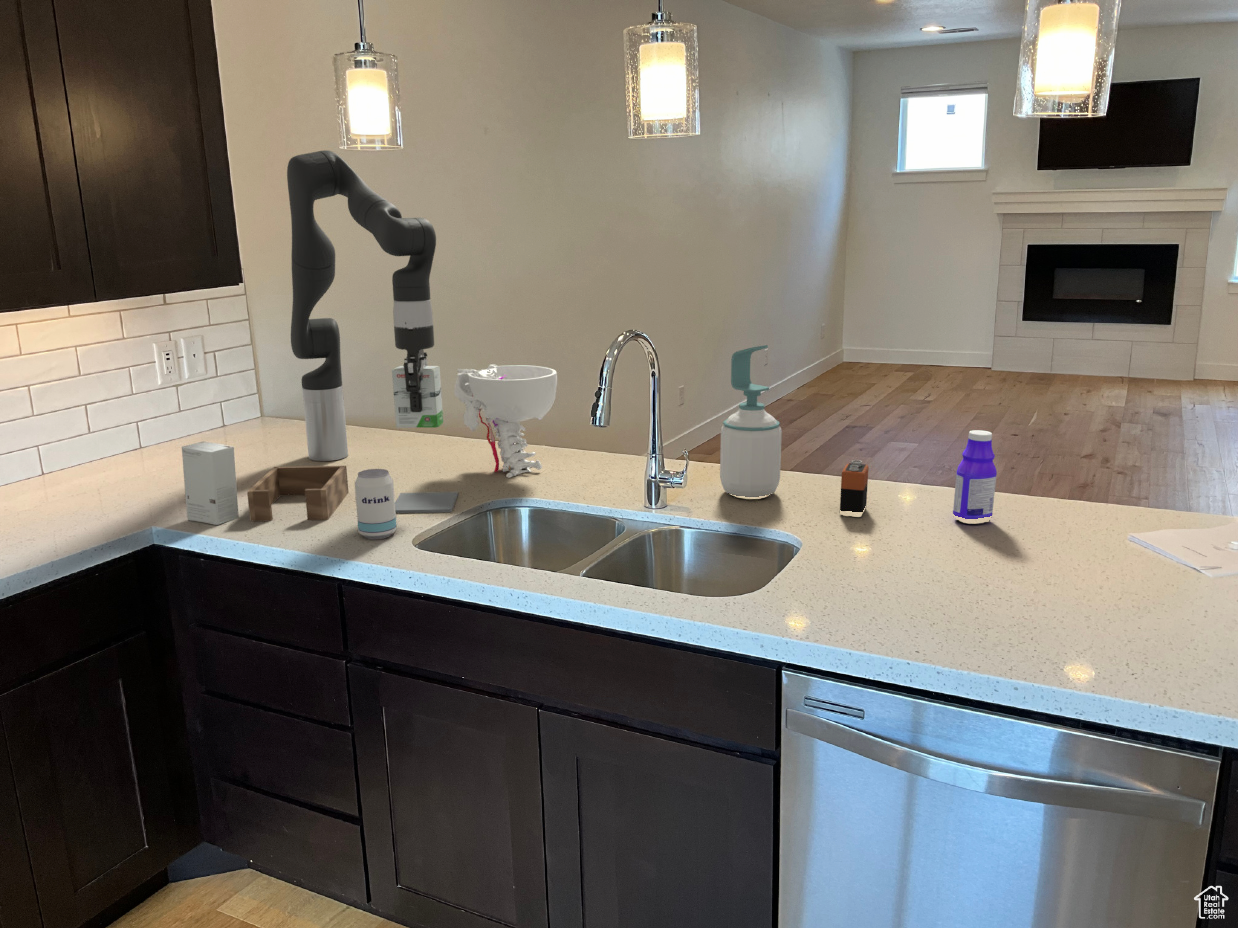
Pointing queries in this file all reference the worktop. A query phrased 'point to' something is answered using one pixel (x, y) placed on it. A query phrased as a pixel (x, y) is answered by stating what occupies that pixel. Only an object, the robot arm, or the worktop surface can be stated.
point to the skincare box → (210, 482)
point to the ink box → (430, 399)
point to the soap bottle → (749, 438)
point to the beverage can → (375, 503)
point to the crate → (300, 490)
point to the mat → (425, 502)
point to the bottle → (976, 478)
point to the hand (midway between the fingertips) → (418, 408)
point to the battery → (854, 486)
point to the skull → (507, 407)
